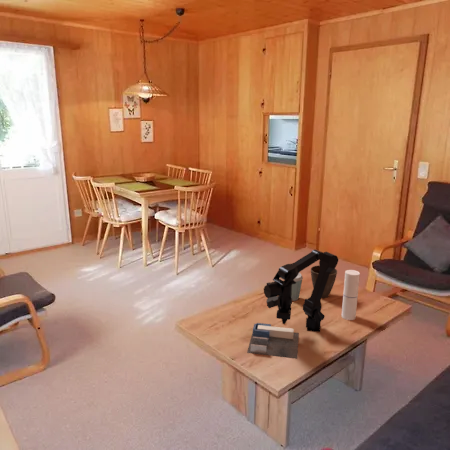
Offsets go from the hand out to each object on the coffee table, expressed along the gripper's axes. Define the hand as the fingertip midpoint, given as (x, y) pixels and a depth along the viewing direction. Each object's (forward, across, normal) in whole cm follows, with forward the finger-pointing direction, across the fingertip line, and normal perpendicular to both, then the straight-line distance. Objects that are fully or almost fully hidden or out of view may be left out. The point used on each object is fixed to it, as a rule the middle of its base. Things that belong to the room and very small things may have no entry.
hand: (283, 323), depth 194 cm
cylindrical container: (+7, -28, +32) cm, 43 cm away
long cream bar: (+7, 0, -4) cm, 8 cm away
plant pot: (+7, -52, +19) cm, 55 cm away
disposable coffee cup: (+7, -44, +2) cm, 44 cm away
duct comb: (+7, +6, -4) cm, 10 cm away
